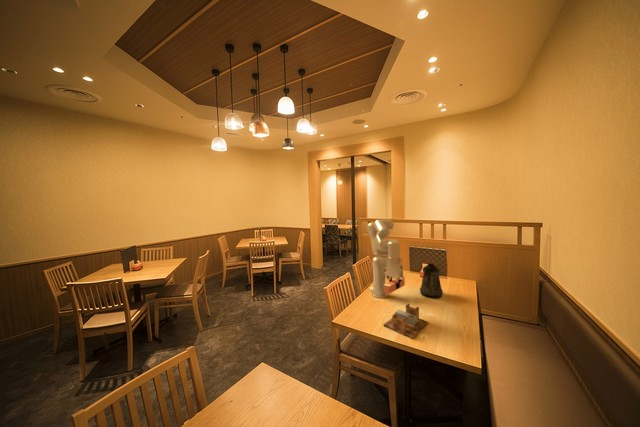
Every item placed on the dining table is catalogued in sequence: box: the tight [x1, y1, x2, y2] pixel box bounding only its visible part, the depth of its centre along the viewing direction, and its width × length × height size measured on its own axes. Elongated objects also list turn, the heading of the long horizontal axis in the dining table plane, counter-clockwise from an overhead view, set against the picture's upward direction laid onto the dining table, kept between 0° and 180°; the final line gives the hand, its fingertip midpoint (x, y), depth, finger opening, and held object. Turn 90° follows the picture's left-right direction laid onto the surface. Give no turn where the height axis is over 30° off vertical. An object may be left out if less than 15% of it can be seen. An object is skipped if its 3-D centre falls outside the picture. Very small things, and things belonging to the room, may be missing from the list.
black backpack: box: [419, 263, 444, 300], centre depth 176 cm, size 16×19×25 cm
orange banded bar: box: [383, 277, 406, 295], centre depth 145 cm, size 4×20×5 cm, turn 132°
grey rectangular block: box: [394, 309, 417, 326], centre depth 136 cm, size 12×4×6 cm, turn 39°
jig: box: [383, 303, 429, 340], centre depth 136 cm, size 18×22×9 cm
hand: (394, 287), depth 145 cm, fingers closed on orange banded bar, 4 cm apart
